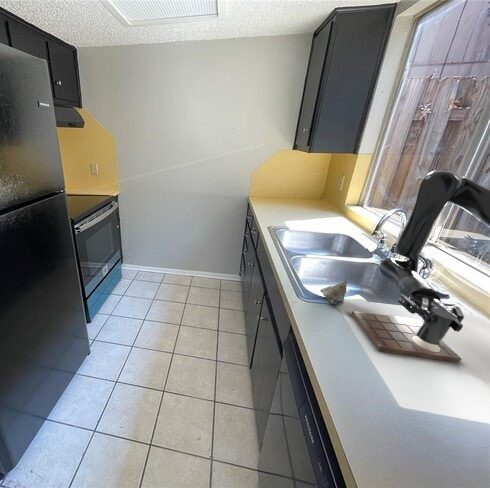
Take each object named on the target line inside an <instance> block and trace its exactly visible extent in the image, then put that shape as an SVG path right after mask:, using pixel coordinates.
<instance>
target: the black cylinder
mask: <svg viewBox="0 0 490 488" xmlns="http://www.w3.org/2000/svg"><path fill="white" fill-rule="evenodd" d="M430 313H431V314H432V316H433V317H434V318H435V322H434V323H433V325H428V324H427V322H425V321H424V320H423V321H422V323H423V324H422V326H421V328H420V329H419V331H418V333H417V336H418V337H419V338H420V339H422V340H423V341H425V342H427V343H429V344H433V345H439V344H440V342H441V341H443V340H444V338H445V337H446V335H447V333H448V332H449V330H450V329H451V326H452V324H453V323H454V321H455V320H456V317H455V316H454V315H453V314H452V313H450V312H448V311H446V310H443V309H440V308H432V309H431V311H430Z"/></svg>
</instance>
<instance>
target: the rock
mask: <svg viewBox="0 0 490 488" xmlns="http://www.w3.org/2000/svg"><path fill="white" fill-rule="evenodd" d="M347 283H348V280H347V279H345V280H342V281H341V282H339V283H337V284H334V285H329V286H326V287H324V288H321V289H320V290H319V291H320V292H321V293H322V295H323V297H324V298H325V299H326V300H327V301H328V303H330V304H332V305H343V304H344V300H345V296H346V293H347Z"/></svg>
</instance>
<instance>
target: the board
mask: <svg viewBox="0 0 490 488" xmlns="http://www.w3.org/2000/svg"><path fill="white" fill-rule="evenodd" d="M350 315H351V317H352V318H353V319H354V321H356V323H357V325H358V326H359V328H361V330H362V332H364V334H365V335H366V337H367V338H368V339H369V341H370V342H371V343H372V345H373V346H374V347H375V349H376V350H377V351H378V352H385V353H391V354H397V355H404V356H405V355H406V356H411V357H416V358H417V357H418V358H425V359H431V360H439V361H445V362H451V363H458V364H459V363H460V362H461V360H462V358H461V357H460V356H459V354H457V353H456V352H455V351H454V350H452V348H451V347H449V345H447V344H446V343H445V342H444V341H443V340H442V341H441V342H440V344H439V345H433V344H429V343H427V342H425V341H423V340H422V339H420V338H419V337H418V336H417V333H418V331H419V329H420V328H421V326H422V324H423V321H421V320H420V319H418V318H410V317H402V316H395V315H388V314H380V313H372V312H364V311H356V310H351V313H350Z"/></svg>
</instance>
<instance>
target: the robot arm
mask: <svg viewBox="0 0 490 488" xmlns="http://www.w3.org/2000/svg"><path fill="white" fill-rule="evenodd" d="M417 191H418V192H417V196H416V199H415V203H414V207H413V209H412V211H411V214H410V217H409V218H408V220H407V222H406V224H405V226H404V227H403V229H402V231H401V233H400V235H399V237H398V239H397V241H396V243H395V245H394V248H393V249H394V250H393V251H394V252H395V253H396V254H397V255H399V256H401V257H404V258H406V259H400V258H394V257H386V258H383V259H382V260H380V262H379V264H378V269H379V272H380V274H381V275H382V276H383V277H384V278H386V279H387V280H389V281H390V282H392V283H394V284H395V286H396V287H397V288H398V290H399V293H400V294H401V295H400V297H399V299H398V301H397V302H398V303H399V304H400V305H402V307H403V308H404V309H405V310H406V311H408V313H410V314H412V315H414V314H417V316H418V317H421V319H422V320H423V322H424V321H425V322H427V324H428V325H433V323H434V322H435V318H434V317H433V316H432V314H431V313H430V311H431V309H432V308H440V309H443V310H446V311H448V312H450V313H452V314H453V315H454V316H455V317H456V320H455V321H454V323H453V324H452V326H451V327H450V329H452V330H453V331H454V332H460V331H462V329H463V328H464V325H463V323H461V322H462V321H463V320H464V318H465V315H464V313H463V311H462V309H461V307H459V306H457V305H454V306H453V307H452V306H448V305H447V304H446V303H445V302H443V301H442V300H441V297H440V296H441V295H440V294H439V293H438V291H437V290H436V289H434V287H432V285H430V283H429V282H428V281H426V279H424V278H423V277H422V276H421V275H420V274H419V273H418V271H419V261H420V257H421V253H422V251H423V249H424V247H425V245H426V243H427V241H428V239H429V237H430V236H431V232H432V230H433V228H434V226H435V223H436V221H437V219H438V217H439V215H440V214H441V213H442V211H443V209H444V208H445V207H446V205H447V204H448V203H450V204H453V205H455V206H457V207H459V208H461V209H463V210H465V211H466V212H468V213H469V214H470V215H472V216H473V217H474V218H475V219H477V220H478V221H479V222H481V223H482V224H483V225H485V226H486V227H488V228H489V229H490V189H489V188H487V187H484V186H483V185H481V184H480V183H477V182H475V181H474V180H472V179H470V178H468V176H467V177H466V176H465V175H463V174H462V173H460V172H458V171H457V170H455V169H451V168H440V169H436V170H433V171H431V172H429V173H428V174H427V175H425V176H424V177H423V178H422V179H421V180H420V182H419V185H418V190H417Z"/></svg>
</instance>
